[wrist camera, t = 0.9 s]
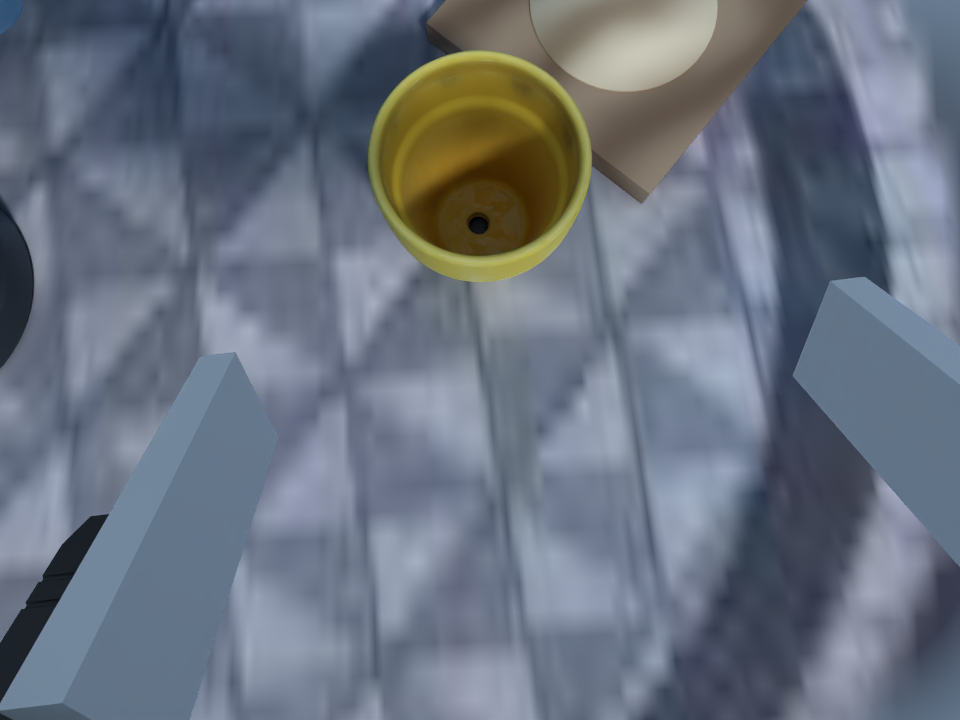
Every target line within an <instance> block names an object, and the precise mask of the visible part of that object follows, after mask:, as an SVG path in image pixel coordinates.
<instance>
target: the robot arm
mask: <svg viewBox="0 0 960 720" xmlns="http://www.w3.org/2000/svg"><path fill="white" fill-rule="evenodd" d="M21 11H22V0H0V35H1V34H3V33H4V32H5V31H6V30H8V29H9V28H10V27H11V26H13V25H14V24H15V23H16V21H17V19H18V18H19V16H20V14H21ZM32 291H33V278H32V269H31V263H30V259H29V255H28V252H27V249H26V246H25V244H24V241H23V239H22V237H21V235H20V233H19V232H18V230H17V228H16V227H15V225H14V224H13V223H12V221H11V220H10V219H9V217H8V216H7V215H6V214H5V213H4V212H3V211H2V210H1V209H0V368H1V367H2V366H3V365H4V363H5V362H6V361H7V359H8V358H9V357H10V355H11V354H12V352H13V350H14V349H15V347H16V345H17V344H18V342H19V340H20V338H21V335H22V333H23V331H24V328H25V326H26V323H27V320H28V316H29V312H30V308H31V301H32ZM793 377H794V378H795V379H796V380H797V381H798V382H799V384H800V385H801V386H802V387H803V388H804V389H805V390H806V392H807V393H808V394H809V395H810V396H811V397H812V398H813V400H814V401H815V402H816V403H817V404H818V405H819V406H820V408H821V409H822V410H823V411H824V412H825V413H826V414H827V416H828V417H829V418H830V419H831V420H832V421H833V422H834V424H835V425H836V426H837V427H838V428H839V429H840V430H841V432H842V433H843V434H844V435H845V436H846V437H847V438H848V440H849V441H850V442H851V443H852V444H853V445H854V446H855V448H856V449H857V450H858V451H859V452H860V453H861V454H862V456H863V457H864V458H865V459H866V460H867V461H868V462H869V464H870V465H871V466H872V467H873V468H874V469H875V470H876V472H877V473H878V474H879V475H880V476H881V477H882V478H883V480H884V481H885V482H886V483H887V484H888V485H889V486H890V488H891V489H892V490H893V491H894V492H895V493H896V494H897V496H898V497H899V498H900V499H901V500H902V501H903V502H904V504H905V505H906V506H907V507H908V508H909V509H910V510H911V512H912V513H913V514H914V515H915V516H916V517H917V518H918V520H919V521H920V522H921V523H922V524H923V525H924V526H925V528H926V529H927V530H928V531H929V532H930V533H931V534H932V536H933V537H934V538H935V539H936V540H937V541H938V542H939V544H940V545H941V546H942V547H943V548H944V549H945V550H946V552H947V553H948V554H949V555H950V556H951V557H952V558H953V560H954V561H955V562H956V563H957V564H958V565H959V566H960V346H959V345H958V344H956V343H955V342H954V341H952V340H951V339H950V338H948V337H947V336H945V335H944V334H943V333H941V332H940V331H939V330H937V329H936V328H934V327H933V326H932V325H930V324H929V323H928V322H926V321H925V320H923V319H922V318H921V317H919V316H918V315H917V314H915V313H914V312H912V311H911V310H910V309H908V308H907V307H905V306H904V305H903V304H901V303H900V302H899V301H897V300H896V299H894V298H893V297H892V296H890V295H889V294H888V293H886V292H885V291H883V290H882V289H881V288H879V287H878V286H877V285H875V284H874V283H872V282H871V281H870V280H868V279H867V278H866V277H859V278H851V279H843V280H834V281H830V283H829V285H828V288H827V290H826V293H825V296H824V298H823V301H822V303H821V306H820V308H819V311H818V313H817V316H816V318H815V321H814V323H813V326H812V328H811V331H810V333H809V336H808V338H807V341H806V343H805V346H804V348H803V351H802V354H801V356H800V359H799V361H798V364H797V366H796V369H795V371H794V374H793ZM277 441H278V436H277V434H276V432H275V430H274V428H273V426H272V424H271V422H270V420H269V418H268V416H267V414H266V412H265V410H264V408H263V406H262V404H261V402H260V400H259V398H258V396H257V394H256V392H255V390H254V388H253V386H252V384H251V382H250V380H249V378H248V376H247V374H246V372H245V370H244V368H243V366H242V365H241V363H240V361H239V359H238V357H237V355H236V353H235V352H233V353H224V354H216V355H208V356H200V358H199V360H198V361H197V363H196V365H195V367H194V368H193V370H192V372H191V373H190V375H189V377H188V379H187V380H186V382H185V384H184V386H183V387H182V389H181V391H180V392H179V394H178V396H177V398H176V399H175V401H174V403H173V405H172V406H171V408H170V410H169V412H168V413H167V415H166V417H165V418H164V420H163V422H162V424H161V425H160V427H159V429H158V431H157V432H156V434H155V436H154V438H153V439H152V441H151V443H150V444H149V446H148V448H147V450H146V451H145V453H144V455H143V457H142V458H141V460H140V462H139V464H138V465H137V467H136V469H135V470H134V472H133V474H132V476H131V477H130V479H129V481H128V483H127V484H126V486H125V488H124V490H123V491H122V493H121V495H120V496H119V498H118V500H117V502H116V503H115V505H114V507H113V509H112V510H111V512H110V514H107V515H98V516H91V517H90V518H89V519H88V520H87V521H86V522H85V523H84V524H82V525H81V526H80V527H79V528H78V529H77V530H76V531H75V532H74V533H73V534H72V535H71V536H70V537H69V538H68V539H67V540H66V541H65V542H64V543H63V544H62V546H61V547H60V549H59V550H58V552H57V554H56V555H55V557H54V558H53V560H52V561H51V563H50V565H49V566H48V568H47V569H46V571H45V573H44V574H43V581H42V582H38V584H37V585H36V587H35V589H34V590H33V592H32V593H31V595H30V597H29V598H28V600H27V601H26V604H27V606H26V608H25V609H21V611H20V612H19V614H18V616H17V617H16V619H15V620H14V622H13V624H12V625H11V627H10V628H9V630H8V632H7V633H6V635H5V636H4V638H3V640H2V641H1V643H0V720H190V716H191V713H192V710H193V707H194V704H195V701H196V697H197V694H198V691H199V688H200V685H201V682H202V678H203V675H204V672H205V669H206V666H207V662H208V659H209V656H210V653H211V650H212V647H213V643H214V640H215V637H216V634H217V631H218V628H219V624H220V621H221V618H222V615H223V612H224V609H225V605H226V602H227V599H228V596H229V593H230V590H231V586H232V583H233V580H234V577H235V574H236V571H237V567H238V564H239V561H240V558H241V555H242V552H243V548H244V545H245V542H246V539H247V536H248V533H249V529H250V526H251V523H252V520H253V517H254V513H255V510H256V507H257V504H258V501H259V498H260V494H261V491H262V488H263V485H264V482H265V479H266V475H267V472H268V469H269V466H270V463H271V460H272V456H273V453H274V450H275V447H276V444H277Z"/></svg>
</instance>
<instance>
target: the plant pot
mask: <svg viewBox="0 0 960 720" xmlns="http://www.w3.org/2000/svg"><path fill="white" fill-rule="evenodd" d="M591 168H592V152H591V143H590V138H589V134H588V130H587V127H586V124H585V121H584V119H583V117H582V114H581V112H580V110H579V108H578V107H577V105H576V103H575V102H574V100H573V99H572V97H571V96H570V95H569V94H568V92H567V91H566V90H565V89H564V88H563V86H562V85H561V84H560V83H559V82H558V81H556V80H555V79H554V78H553V77H552V76H551V75H549V74H548V73H547V72H546V71H544V70H543V69H541V68H539V67H538V66H536V65H535V64H533V63H531V62H529V61H526V60H524V59H522V58H519V57H516V56H513V55H510V54H506V53H501V52H496V51H486V50H471V51H463V52H458V53H453V54H449V55H446V56H443V57H440V58H437V59H435V60H433V61H431V62H428V63H426V64H424V65H423V66H421V67H419V68H418V69H416V70H415V71H413V72H412V73H411V74H409V75H408V76H407V77H406V78H404V79H403V80H402V81H401V82H400V83H399V84H398V85H397V86H396V87H395V88H394V90H393V91H392V92H391V93H390V94H389V96H388V97H387V98H386V100H385V101H384V103H383V105H382V106H381V108H380V110H379V112H378V114H377V116H376V119H375V121H374V124H373V127H372V130H371V134H370V140H369V145H368V173H369V179H370V183H371V187H372V191H373V194H374V196H375V199H376V201H377V204H378V206H379V208H380V210H381V212H382V214H383V216H384V218H385V220H386V221H387V223H388V225H389V226H390V228H391V230H392V231H393V233H394V234H395V236H396V237H397V238H398V240H399V241H400V242H401V244H402V245H403V246H404V247H405V249H406V250H407V251H408V252H409V253H410V254H411V255H412V256H414V257H415V258H416V259H417V260H418V261H420V262H421V263H422V264H424V265H425V266H427V267H429V268H430V269H432V270H434V271H436V272H438V273H440V274H442V275H445V276H448V277H451V278H454V279H458V280H463V281H470V282H490V281H498V280H502V279H507V278H510V277H513V276H516V275H519V274H521V273H523V272H526V271H528V270H529V269H531V268H533V267H534V266H536V265H537V264H539V263H540V262H542V261H543V260H544V259H545V258H547V257H548V256H549V255H550V254H551V253H552V252H553V251H554V250H555V249H556V248H557V247H558V245H559V244H560V243H561V242H562V240H563V239H564V237H565V236H566V234H567V233H568V231H569V230H570V228H571V226H572V224H573V223H574V221H575V219H576V217H577V215H578V213H579V211H580V209H581V206H582V204H583V201H584V199H585V196H586V193H587V190H588V186H589V182H590V177H591ZM474 217H483V218H484V219H485V220H486V221H487V222H488V229H487V230H486V232H484V233H483V234H475V233H473V232H472V231H471V230H470V228H469V222H470V220H471V219H472V218H474Z"/></svg>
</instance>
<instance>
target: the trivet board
mask: <svg viewBox="0 0 960 720" xmlns="http://www.w3.org/2000/svg"><path fill="white" fill-rule="evenodd" d="M806 1H807V0H446V1H445V2H444V3H443V4H442V5H441V6H440V7H439V9H438V10H437V11H436V12H435V13H434V14H433V15H432V16H431V17H430V19H429V20H428V21H427V22H426V27H427V34H428V40H429V41H430V42H432V43H433V44H434V45H436V46H437V47H438V48H440V49H441V50H442V51H443V52H445V53H446V54H447V55H449V54H453V53H458V52H463V51H471V50H486V51H496V52H501V53H506V54H510V55H513V56H516V57H519V58H522V59H524V60H526V61H529V62H531V63H533V64H535V65H536V66H538V67H539V68H541V69H543V70H544V71H546V72H547V73H548V74H549V75H551V76H552V77H553V78H554V79H555V80H556V81H558V82H559V83H560V84H561V85H562V86H563V88H564V89H565V90H566V91H567V92H568V94H569V95H570V96H571V97H572V99H573V100H574V102H575V103H576V105H577V107H578V108H579V110H580V112H581V114H582V117H583V119H584V121H585V124H586V127H587V130H588V134H589V138H590V143H591V152H592V166H593V167H595V168H596V169H597V170H598V171H600V172H601V173H602V174H604V175H605V176H606V177H608V178H609V179H610V180H611V181H613V182H614V183H615V184H617V185H618V186H619V187H621V188H622V189H623V190H624V191H626V192H627V193H628V194H630V195H631V196H632V197H634V198H635V199H636V200H638V201H639V202H640V203H641V204H642V203H643V202H644V200H645V199H646V198H647V197H648V196H649V194H650V193H651V192H652V191H653V189H654V188H655V187H656V186H657V185H658V183H659V182H660V181H661V180H662V178H663V177H664V176H665V175H666V173H667V172H668V171H669V170H670V169H671V167H672V166H673V165H674V164H675V162H676V161H677V160H678V159H679V157H680V156H681V155H682V154H683V153H684V151H685V150H686V149H687V148H688V146H689V145H690V144H691V143H692V142H693V140H694V139H695V138H696V137H697V135H698V134H699V133H700V132H701V130H702V129H703V128H704V127H705V126H706V124H707V123H708V122H709V121H710V119H711V118H712V117H713V116H714V115H715V113H716V112H717V111H718V110H719V108H720V107H721V106H722V105H723V103H724V102H725V101H726V100H727V99H728V97H729V96H730V95H731V94H732V92H733V91H734V90H735V89H736V87H737V86H738V85H739V84H740V83H741V81H742V80H743V79H744V78H745V76H746V75H747V74H748V73H749V72H750V70H751V69H752V68H753V67H754V65H755V64H756V63H757V62H758V60H759V59H760V58H761V57H762V56H763V54H764V53H765V52H766V51H767V49H768V48H769V47H770V46H771V44H772V43H773V42H774V41H775V40H776V38H777V37H778V36H779V35H780V33H781V32H782V31H783V30H784V29H785V27H786V26H787V25H788V24H789V22H790V21H791V20H792V19H793V17H794V16H795V15H796V14H797V13H798V11H799V10H800V9H801V8H802V6H803V5H804V4H805V3H806Z"/></svg>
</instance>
